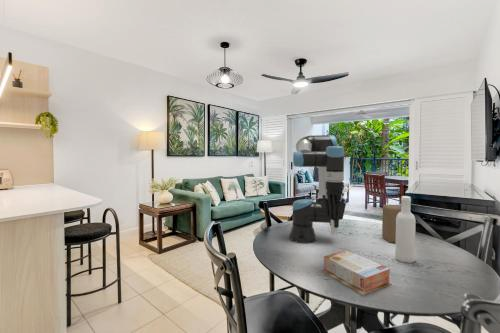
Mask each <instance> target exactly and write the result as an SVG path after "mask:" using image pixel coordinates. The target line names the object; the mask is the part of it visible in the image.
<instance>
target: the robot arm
mask: <svg viewBox="0 0 500 333" xmlns="http://www.w3.org/2000/svg"><path fill="white" fill-rule="evenodd" d="M295 149H296V151H294V152H293V153H292V156H293V157H292V162H293V163H292V165H293V166H294V167H299V168H313V167H315V168H318V171H317V172H318V197H317V198H316V199H315V200H316V201H314V199H310V198H303V199H297V200H294V201H293V202H292V209H291V210H292V227H291V230H290V233H289V240H291V239H292V240H293V241H292V240H291V241H292V242H295V241H297V242H296V243H299V242H311V243H314V242H316V238H317V237H316V234H315V230H314V223H327V224H329V225H330V235H333V236H335V235H338V233H339V227H340V225H339V224H340V220H343V219H344V215H345V214H344V213H345V210H346V205H347V203H348V201H349V199H348V198H345V197H344V193H343V191H344V190H345V186H344V185H345V183H344V180H345V169H344V168H345V147H344V146H343V145H342V146H341V145H338V141H337V137H336V136H335V135H332V134H331V135H330V134H326V135H325V134H323V135H322V134H321V135H307V136H303V137H301V138H300V139H299V140H298V141H297V142H296V143H295ZM313 241H314V242H313Z"/></svg>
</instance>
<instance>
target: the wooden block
mask: <svg viewBox="0 0 500 333" xmlns="http://www.w3.org/2000/svg"><path fill="white" fill-rule="evenodd" d="M401 206H402V205H401V204H383V205H382V220H381V221H382V225H381V226H382V228H381V230H382V232H381V237H382V239H384V240H385V241H387V242H388V243H392V244H393V243H394V244H396V217H397V215H398V213H399V212H401Z"/></svg>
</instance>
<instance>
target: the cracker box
mask: <svg viewBox="0 0 500 333" xmlns="http://www.w3.org/2000/svg"><path fill="white" fill-rule="evenodd" d="M323 269H324V270H325V271H329V272H331V273H333V274H334V275H336V276H338V277H340V278H341V279H343V280H345V281H347V282H348V283H350V284H352V285H354V286H355V287H357V288H359V289H361V290H363V291H364V292H367V291H370V290H372V289H374V288H377V287H379V286H382V285H384V284H387V283H389V282H390V268H389V267H387V266H385V265H382V264H380V263H377V262H375V261H373V260H370V259H368V258H366V257H363V256H361V255H358V254H356V253H354V252H351V251H350V250H347V249H345V250H342V251H339V252H335V253H332V254H328V255H325V256H323Z"/></svg>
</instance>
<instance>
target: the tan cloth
mask: <svg viewBox="0 0 500 333" xmlns="http://www.w3.org/2000/svg"><path fill="white" fill-rule="evenodd" d="M323 273H325V274H327V275H328V276H330V277H331V278H333V279H335V280H337V281H338V282H340V283H342V284H343V285H345V286H347V287H348V288H350V289H352V290H353V291H355V292H357V293H358V294H360V295H362V296H364V295H367V294H369V293H372V292H375V291H377V290H380V289H383V288H386V287H388V286H392V284H393V283H391V282H390V281H389V283H387V284H384V285H382V286H379V287H377V288H374V289H372V290H370V291H367V292H364V291H363V290H361V289H359V288H357V287H355V286H354V285H352V284H350V283H348V282H347V281H345V280H343V279H341V278H340V277H338V276H336V275H334V274H333V273H331V272H329V271H327V270H325V271H324V272H323Z"/></svg>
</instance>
